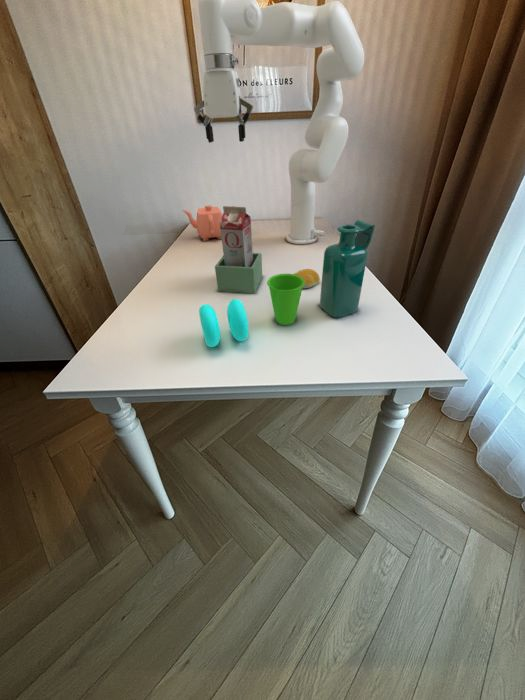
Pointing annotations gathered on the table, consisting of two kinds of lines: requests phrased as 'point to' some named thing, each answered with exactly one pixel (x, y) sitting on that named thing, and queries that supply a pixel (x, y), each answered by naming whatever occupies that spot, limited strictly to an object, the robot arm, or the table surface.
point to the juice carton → (236, 237)
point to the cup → (285, 296)
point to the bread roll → (308, 277)
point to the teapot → (207, 222)
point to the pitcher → (345, 269)
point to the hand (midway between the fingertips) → (226, 141)
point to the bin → (239, 276)
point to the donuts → (235, 320)
